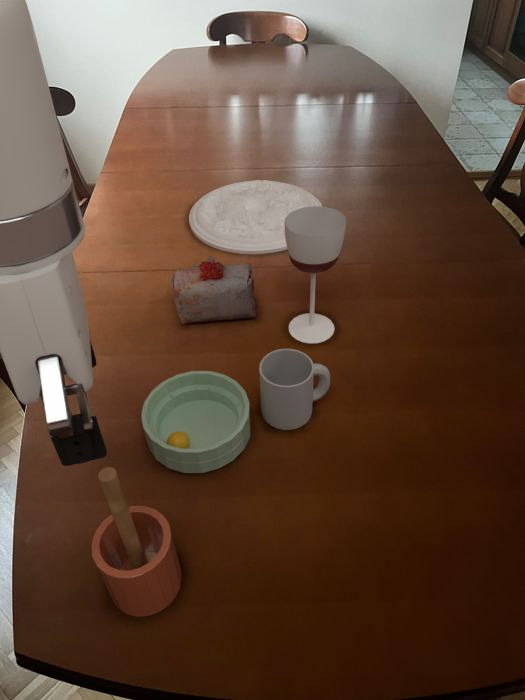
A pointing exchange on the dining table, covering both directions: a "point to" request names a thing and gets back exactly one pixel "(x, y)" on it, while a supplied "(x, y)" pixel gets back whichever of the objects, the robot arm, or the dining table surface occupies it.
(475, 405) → the dining table surface
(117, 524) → the stirring stick
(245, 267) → the food item
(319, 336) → the wineglass
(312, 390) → the cup
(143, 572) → the utensil pot
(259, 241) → the ceiling medallion
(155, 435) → the bowl
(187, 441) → the ball
